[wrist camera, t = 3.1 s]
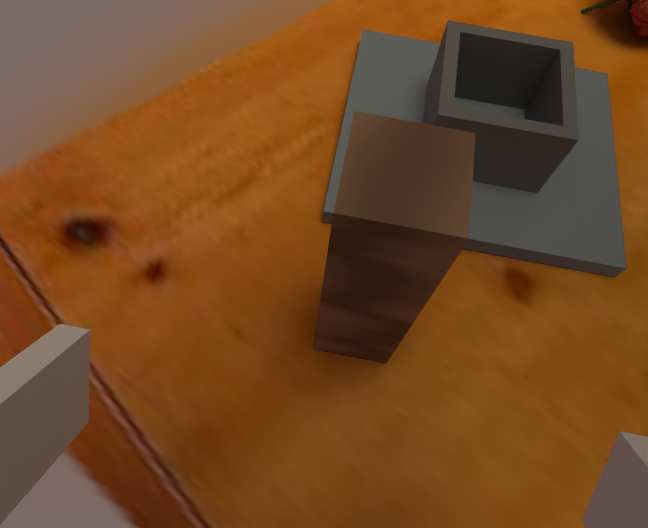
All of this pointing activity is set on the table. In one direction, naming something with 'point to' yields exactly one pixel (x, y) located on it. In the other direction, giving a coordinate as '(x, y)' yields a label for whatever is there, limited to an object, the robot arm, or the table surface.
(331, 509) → the table surface
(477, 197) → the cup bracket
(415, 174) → the walnut rail post
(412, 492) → the table surface
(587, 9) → the pomegranate
